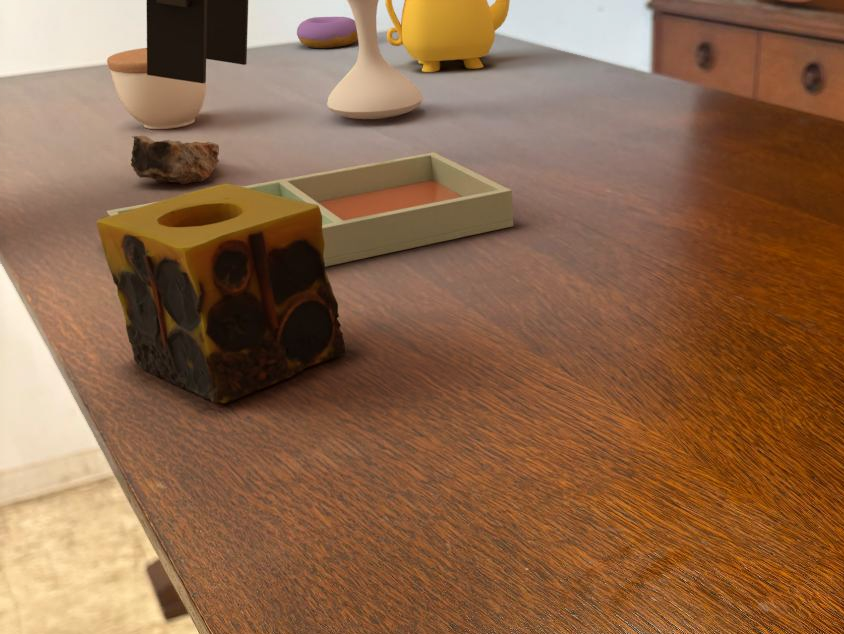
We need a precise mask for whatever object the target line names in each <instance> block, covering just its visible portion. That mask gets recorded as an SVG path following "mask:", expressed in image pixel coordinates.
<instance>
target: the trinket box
mask: <svg viewBox="0 0 844 634" xmlns="http://www.w3.org/2000/svg"><path fill="white" fill-rule="evenodd" d="M146 41H147V38H146ZM106 63H107V67H108V69H109V70H110V74H111V79H112V83H113V85H114V88H115V92H116V94H117V96H118V98H119V100H120V102H121V104H122V105H123V107H124V109H125V110H126V111H127V112H128V113H129V115H131V116H132V117H133V118H134V119H135V120H136V121H138V122H139V123H141V124H142V126H143V127H144V128H145V129H148V130H149V129H150V130H169V129H176V128H177V129H178V128H182V127H187V126H189V125H191V124H194V123H195V122H196V117H197V116H198V115H199V113H200V112H201V110H202V107H203V106H204V103H205V99H206V90H207V89H206V88H207V87H206V86H207V85H206V82H205V83H196V82H190V81H183V80H177V79H170V78H164V77H157V76H151V75H147V47H143V48H142V47H141V48H135V49H130V50H124V51H121V52H117V53H114V54H112V55H109V56H108V57H107V60H106Z"/></svg>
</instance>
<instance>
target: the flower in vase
mask: <svg viewBox="0 0 844 634" xmlns="http://www.w3.org/2000/svg"><path fill="white" fill-rule="evenodd" d="M346 1H347V3H348V5H349V7H350V10H351V13H352V15H353V16H352V17H353V20H354V21H355V24H356V28H357V34H358V39H357V40H358V55H357V59H356V61H355V64H354V65H353V66H352V67H351V69H350V70H349V71H348V72H347V74H346V75H344V77H343V78H342V79H341V80H340V81H339V82H338V83H337V85H335V86H334V88H333V89H332V91H331V92H330V94H329V95H328V98H327V103H326V106H327V107H328V109H329V110H330V111H331V112H332V113H333V114H335V115H339V116H341V117H344V118H348V119H357V120H380V119H381V120H382V119H387V118H393V117H397V116H401V115H405V114H407V113H410V112H412V111H413V110H415V109H416V108H417V109H418V108H419V107H420V105H421V103H422V101H423V99H424V96H423V94H422V91H421V90H420V89H419V88H418V87H417V86H416V85H415V84H414V83H413V82H412V81H411V80H410V79H408V78H407V77H406V76H404V75H403V74H402V73H401V72H400V71H398V70H397V69H395V68H393V66H391V65H390V64H389V63H388V62H387V61H386V60H385V59H384V57H383V55H382V53H381V50H380V47H379V39H378V30H377V28H378V27H377V14H378V4H379V1H380V0H346Z"/></svg>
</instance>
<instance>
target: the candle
mask: <svg viewBox="0 0 844 634" xmlns="http://www.w3.org/2000/svg"><path fill="white" fill-rule="evenodd" d="M156 202H157V203H153V202H152V203H153V204H150V205H146V206H143V207H139V208H136V209H133V210H130V211H127V212H123V213H120V214H116V215H113V216H109V217H108V216H106V217H102V218H99V219H98V220H96V225H97V226H96V227H97V228H98V233H99V238H100V242H101V245H102V249H103V252H104V255H105V256H104V257H105V258H106V262H107V265H108V269H109V271H110V274H111V276H112V280H113V283H114V284H115V285H116V289H117V296H118V299H119V302H120V305H121V308H122V311H123V315H124V319H125V329H126V333H127V334H126V335H127V337H128V343H130V346H131V350H132V353H133V360H134V362H135V363H136V364H137V366H139V367H140V368H141V369H142V370H144V371H147V372H150V374H152V375H155V376H157V377H160V378H162V379H163V380H165V381H167V382H169V383H172V384H174V385H175V386H179V387H180V388H182V389H185V390H187V391H190V392H193V393H195V394H197V395H198V396H200V397H201V398H203V399H205V400H210V401H211V402H212V403H214V404H228V403H231V402H234V401H235V402H236V401H238V400H239V399H241V398H244V397H246V396H248V395H251V394H253V393H255V392H258V391H260V390H263V389H265V388H268V387H271V386H272V385H273V386H274V385H276V384H278V383H280V382H283V381H285V380H287V379H290V378H291V377H293V376H295V375H296V374H298V373H301V372H302V371H303V370H305V369H306V368H309V367H313V366H315V365H318V364H321V363H324V362H327V361H330V360H333V359H337V358H339V357H341V356H342V355H343V354H345V353H346V345H345V340H344V337H343V335H344V333H343V332H342V330H341V326H342V324H341V323H340V321H339V319H338V318H339V317H340V315H339V304H338V301H337V299H336V297H335V294H334V291H333V288H332V285H331V283H330V279H329V277H328V273H327V271H326V267H325V262H324V257H323V254H324V247H325V243H324V238H323V232H322V214H321V211H320V208H319V206H318V205H316V204H310V203H306V202H302V201H298V200H293V199H289V198H285V197H280V196H276V195H272V194H268V193H264V192H261V191H257V190H253V189H249V188H245V187H243V186H240V185H235V184H232V183H221V184H219V185H213V186H209V187H206V188H202V189H198V190H194V191H191V192H187V193H183V194H180V195H177V196H174V197H170V198H167V199H163V200H160V202H159V201H156Z"/></svg>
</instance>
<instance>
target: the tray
mask: <svg viewBox="0 0 844 634" xmlns="http://www.w3.org/2000/svg"><path fill="white" fill-rule="evenodd" d="M242 187H245V188H249V189H253V190H257V191H261V192H264V193H268V194H272V195H276V196H280V197H285V198H289V199H293V200H298V201H302V202H306V203H310V204H316V205H318V206H319V208H320V211H321V214H322V232H323V238H324V243H325V247H324V254H323V257H324V262H325V268H326V267H330V266H335V265H340V264H344V263H349V262H354V261H358V260H359V261H360V260H363V259H368V258H374V257H376V256H381V255H386V254H390V253H396V252H400V251H404V250H405V251H406V250H410V249H413V248H414V249H415V248H419V247H423V246H428V245H432V244H439V243H443V242H447V241H451V240H456V239H460V238H461V239H462V238H465V237H469V236H475V235H479V234H484V233H489V232H492V231H497V230H503V229H507V228H512V227H514V207H513V190H512V189H510V188H508V187H506V186H504V185H501V184H500V183H498V182H495V181H493V180H492V179H490V178H488V177H485V176H484V175H481V174H479V173H477V172H476V171H473V170H471V169H469V168H467V167H465V166H462V165H461V164H459V163H457V162H455V161H453V160H451V159H449V158H447V157H445V156H443V155H441V154H438V153H436V152H435V151H433V152H428V153H422V154H417V155H411V156H404V157H399V158H394V159H388V160H383V161H378V162H372V163H367V164H360V165H356V166H355V165H354V166H350V167H349V166H348V167H344V168H338V169H333V170H327V171H322V172H316V173H310V174H304V175H300V176H293V177H288V178H283V179H277V180H271V181H266V182H260V183H253V184H249V185H244V186H242ZM160 201H161V200H160ZM160 201H154V202H149V203H143V204H137V205H132V206H131V205H130V206H125V207H119V208H114V209H110V210H106V217H109V216H113V215H116V214H120V213H123V212H127V211H130V210H133V209H136V208H139V207H143V206H146V205H150V204H153V203H157V202H160Z"/></svg>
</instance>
